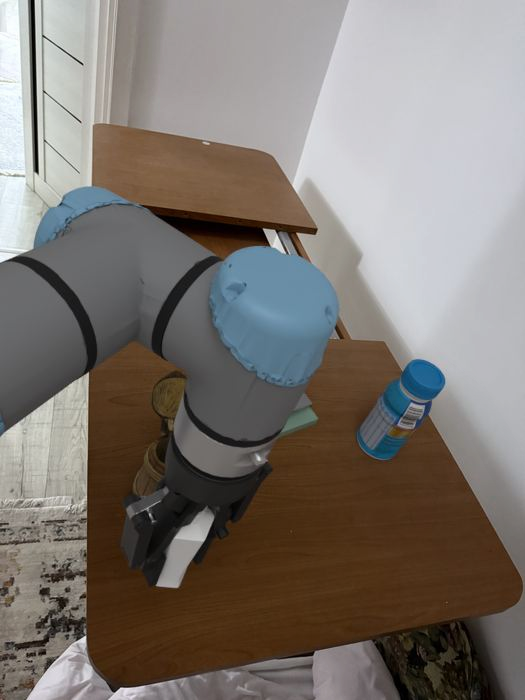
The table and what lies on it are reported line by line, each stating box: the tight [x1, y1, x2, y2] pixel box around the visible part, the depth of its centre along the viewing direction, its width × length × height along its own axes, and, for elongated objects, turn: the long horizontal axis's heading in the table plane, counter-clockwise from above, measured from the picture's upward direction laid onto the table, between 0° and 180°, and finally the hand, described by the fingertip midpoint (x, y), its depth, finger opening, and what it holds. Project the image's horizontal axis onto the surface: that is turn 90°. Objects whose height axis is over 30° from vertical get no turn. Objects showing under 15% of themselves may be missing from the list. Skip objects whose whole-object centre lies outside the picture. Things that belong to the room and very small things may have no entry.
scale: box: [277, 406, 319, 439], centre depth 92 cm, size 17×14×4 cm
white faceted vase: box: [155, 506, 214, 589], centre depth 50 cm, size 5×4×15 cm
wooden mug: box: [131, 369, 187, 498], centre depth 72 cm, size 9×14×18 cm, turn 13°
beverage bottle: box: [356, 358, 446, 461], centre depth 89 cm, size 8×8×20 cm
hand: (171, 562), depth 54 cm, fingers closed on white faceted vase, 5 cm apart
